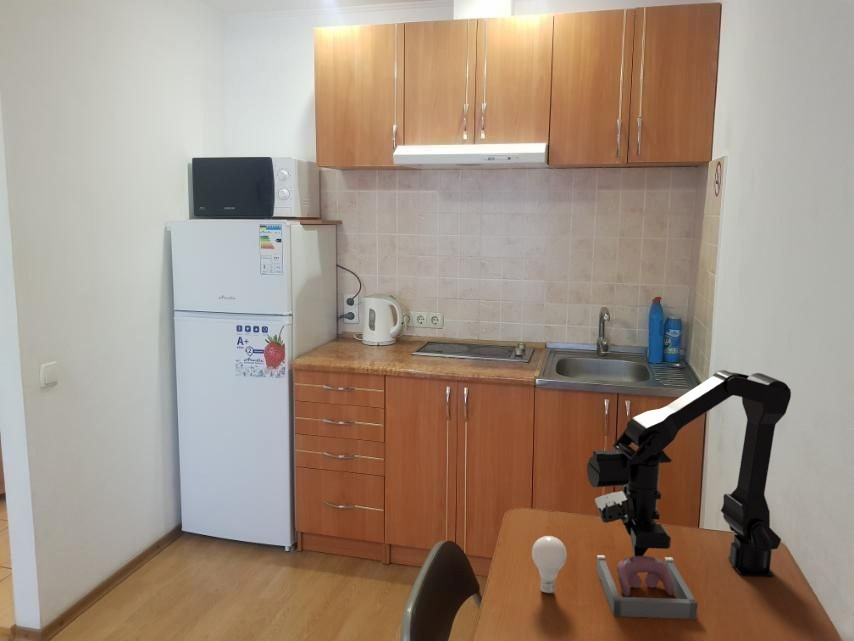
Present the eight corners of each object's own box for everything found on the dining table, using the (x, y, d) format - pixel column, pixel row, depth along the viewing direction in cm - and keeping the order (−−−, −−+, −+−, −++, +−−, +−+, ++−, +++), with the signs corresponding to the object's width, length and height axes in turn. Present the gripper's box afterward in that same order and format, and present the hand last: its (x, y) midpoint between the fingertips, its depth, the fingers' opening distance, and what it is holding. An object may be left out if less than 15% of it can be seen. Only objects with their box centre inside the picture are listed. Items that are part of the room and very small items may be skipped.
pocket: (670, 573, 132) (671, 557, 132) (696, 619, 118) (698, 601, 117) (596, 570, 133) (597, 555, 132) (613, 615, 118) (614, 598, 118)
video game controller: (667, 593, 128) (662, 554, 130) (676, 595, 124) (672, 556, 126) (616, 594, 128) (612, 556, 130) (624, 597, 123) (620, 557, 125)
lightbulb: (543, 578, 130) (545, 526, 128) (571, 592, 125) (574, 538, 123) (523, 591, 125) (525, 537, 124) (551, 606, 121) (554, 550, 119)
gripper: (590, 463, 137) (586, 533, 139) (610, 504, 118) (605, 584, 121) (645, 464, 136) (640, 535, 139) (674, 505, 118) (668, 586, 121)
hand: (637, 558), depth 130 cm, fingers closed
